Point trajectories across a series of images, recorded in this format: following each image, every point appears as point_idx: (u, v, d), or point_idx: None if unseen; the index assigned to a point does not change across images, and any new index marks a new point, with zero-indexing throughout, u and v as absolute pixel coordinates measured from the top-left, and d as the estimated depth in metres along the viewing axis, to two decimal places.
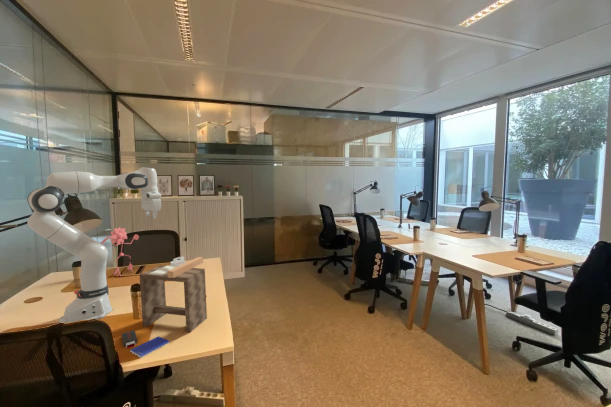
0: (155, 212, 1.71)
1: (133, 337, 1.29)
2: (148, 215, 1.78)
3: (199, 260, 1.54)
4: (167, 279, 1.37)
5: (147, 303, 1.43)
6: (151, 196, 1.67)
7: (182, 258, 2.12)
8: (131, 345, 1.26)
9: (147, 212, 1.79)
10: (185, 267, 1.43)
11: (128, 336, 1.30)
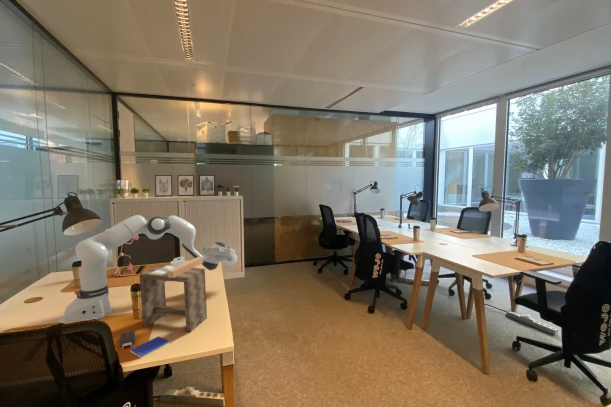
0: (223, 250, 1.69)
1: (131, 338, 1.28)
2: (205, 248, 1.69)
3: (199, 260, 1.54)
4: (167, 279, 1.37)
5: (147, 303, 1.43)
6: None
7: (182, 258, 2.12)
8: (128, 346, 1.25)
9: None
10: (185, 267, 1.43)
11: (126, 337, 1.29)
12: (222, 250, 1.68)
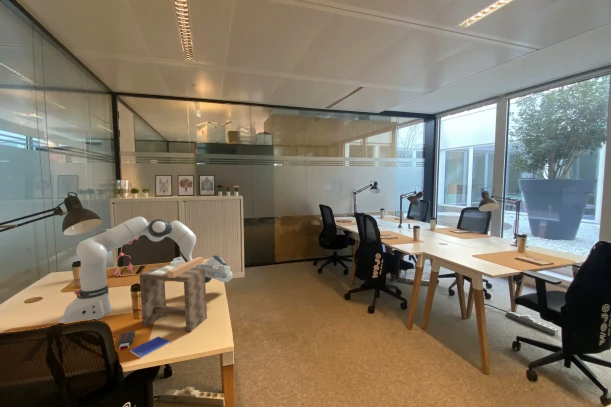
0: (217, 267, 1.63)
1: (129, 339, 1.28)
2: (198, 265, 1.63)
3: (199, 260, 1.54)
4: (167, 279, 1.37)
5: (147, 303, 1.43)
6: (229, 267, 1.72)
7: (182, 258, 2.12)
8: (125, 347, 1.25)
9: (198, 266, 1.65)
10: (185, 267, 1.43)
11: (124, 337, 1.29)
12: (216, 267, 1.63)
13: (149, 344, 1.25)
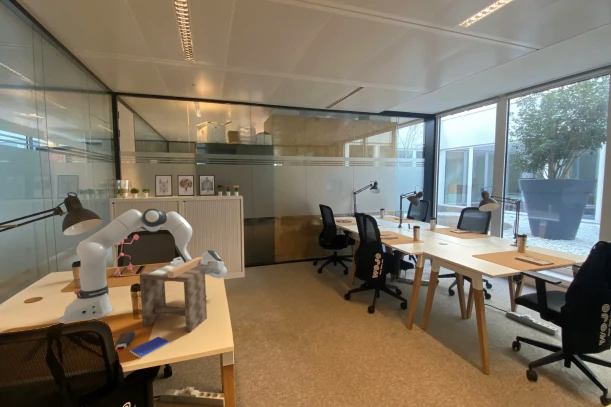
0: (206, 263, 1.57)
1: (126, 339, 1.27)
2: None
3: None
4: (167, 279, 1.37)
5: (147, 303, 1.43)
6: (223, 263, 1.65)
7: None
8: (122, 347, 1.24)
9: None
10: (185, 267, 1.43)
11: (123, 337, 1.29)
12: (205, 262, 1.56)
13: (149, 344, 1.25)
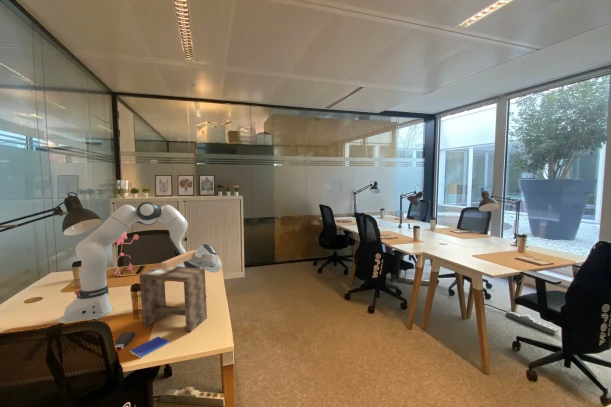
0: (200, 256, 1.57)
1: (124, 340, 1.27)
2: None
3: None
4: (167, 279, 1.37)
5: (147, 303, 1.43)
6: (218, 256, 1.65)
7: None
8: (119, 348, 1.24)
9: None
10: (179, 259, 1.43)
11: (122, 338, 1.29)
12: (199, 255, 1.56)
13: (149, 344, 1.25)
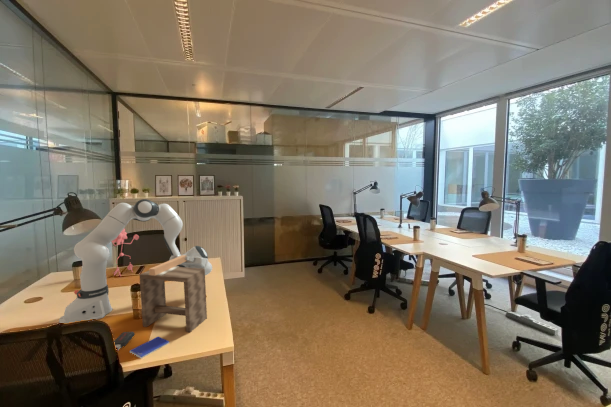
0: (192, 259, 1.58)
1: (122, 340, 1.27)
2: (175, 257, 1.58)
3: (182, 258, 1.57)
4: (167, 279, 1.37)
5: (147, 303, 1.43)
6: (207, 259, 1.67)
7: None
8: (116, 348, 1.24)
9: None
10: (167, 265, 1.45)
11: (120, 338, 1.29)
12: (191, 259, 1.58)
13: (149, 344, 1.25)
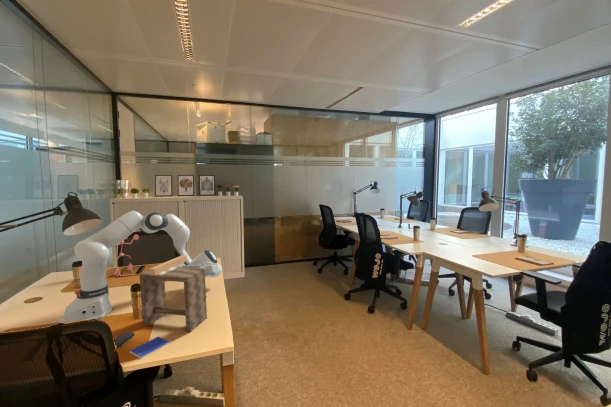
0: (205, 268, 1.69)
1: (119, 340, 1.26)
2: None
3: (182, 258, 1.57)
4: (167, 279, 1.37)
5: (147, 303, 1.43)
6: (217, 265, 1.79)
7: None
8: None
9: None
10: (167, 265, 1.45)
11: (118, 338, 1.29)
12: (203, 268, 1.69)
13: (149, 344, 1.25)
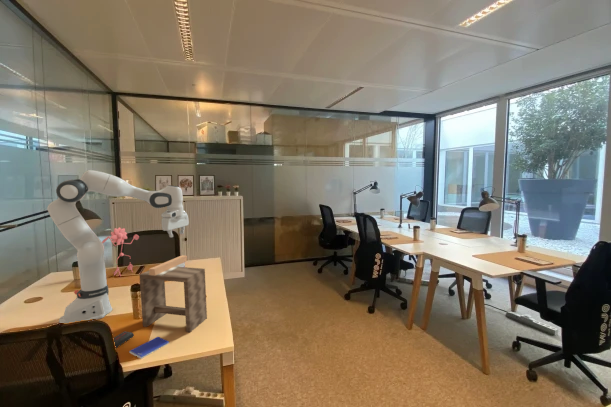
0: (169, 231, 1.69)
1: (116, 340, 1.26)
2: (181, 232, 1.80)
3: (182, 258, 1.57)
4: (167, 279, 1.37)
5: (147, 303, 1.43)
6: (161, 215, 1.67)
7: None
8: None
9: (182, 229, 1.81)
10: (167, 265, 1.45)
11: (117, 337, 1.29)
12: (169, 233, 1.70)
13: (149, 344, 1.25)
